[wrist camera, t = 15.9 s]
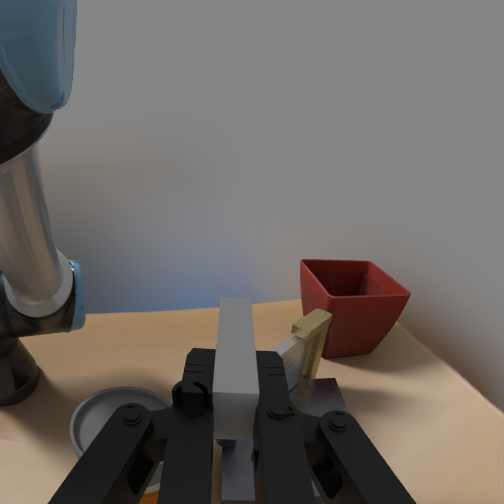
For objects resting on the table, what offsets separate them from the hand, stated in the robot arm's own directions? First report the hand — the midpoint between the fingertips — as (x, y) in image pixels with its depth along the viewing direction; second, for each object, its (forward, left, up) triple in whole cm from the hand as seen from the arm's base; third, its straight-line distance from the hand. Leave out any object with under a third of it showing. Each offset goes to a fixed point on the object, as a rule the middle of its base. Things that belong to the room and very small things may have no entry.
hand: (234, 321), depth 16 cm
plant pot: (-25, +43, -32) cm, 60 cm away
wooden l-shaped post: (-16, +24, -32) cm, 43 cm away
